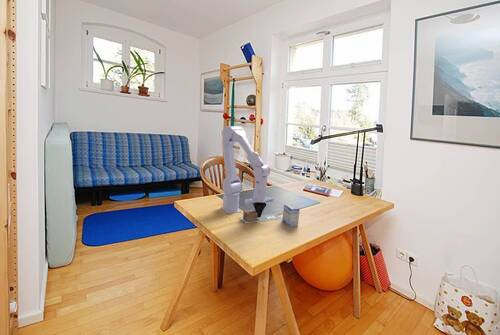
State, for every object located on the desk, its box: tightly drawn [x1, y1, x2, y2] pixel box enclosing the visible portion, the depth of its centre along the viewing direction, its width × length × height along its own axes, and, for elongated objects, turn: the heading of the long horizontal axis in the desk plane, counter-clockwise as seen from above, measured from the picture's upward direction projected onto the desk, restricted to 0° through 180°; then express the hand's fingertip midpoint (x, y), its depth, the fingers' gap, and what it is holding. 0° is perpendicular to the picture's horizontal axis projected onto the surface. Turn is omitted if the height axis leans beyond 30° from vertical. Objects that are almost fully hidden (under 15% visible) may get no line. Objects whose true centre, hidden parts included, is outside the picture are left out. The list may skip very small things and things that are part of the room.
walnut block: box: [242, 209, 258, 222], centre depth 132 cm, size 5×5×4 cm
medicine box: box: [281, 203, 300, 228], centre depth 130 cm, size 8×4×9 cm, turn 21°
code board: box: [237, 213, 283, 225], centre depth 135 cm, size 8×21×1 cm, turn 117°
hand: (258, 216), depth 134 cm, fingers closed
